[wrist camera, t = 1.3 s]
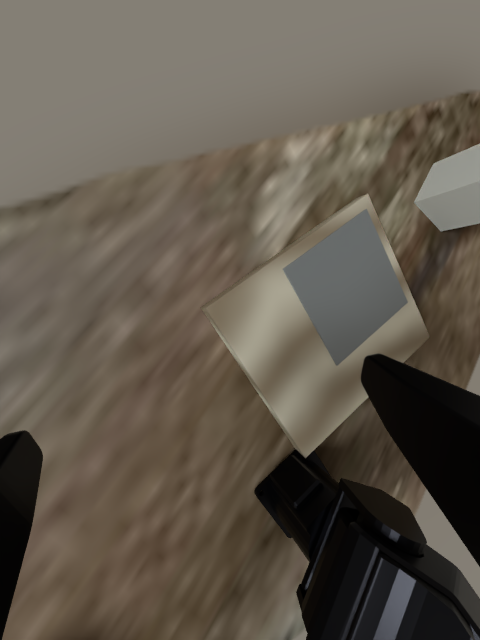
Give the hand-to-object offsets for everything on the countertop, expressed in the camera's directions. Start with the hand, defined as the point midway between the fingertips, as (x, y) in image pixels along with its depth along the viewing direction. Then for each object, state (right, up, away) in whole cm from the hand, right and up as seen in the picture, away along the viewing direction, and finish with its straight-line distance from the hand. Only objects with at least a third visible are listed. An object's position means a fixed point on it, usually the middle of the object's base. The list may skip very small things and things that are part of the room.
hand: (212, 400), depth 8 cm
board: (+9, +2, +20) cm, 21 cm away
